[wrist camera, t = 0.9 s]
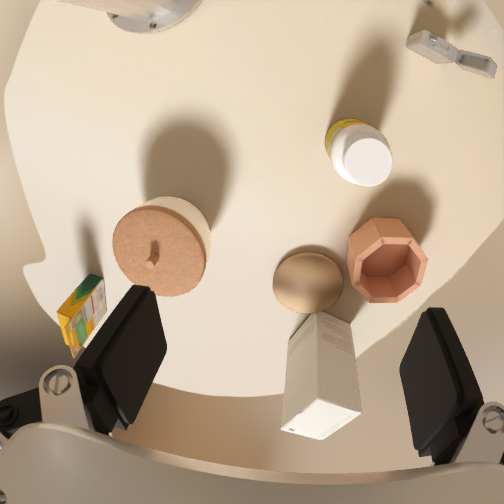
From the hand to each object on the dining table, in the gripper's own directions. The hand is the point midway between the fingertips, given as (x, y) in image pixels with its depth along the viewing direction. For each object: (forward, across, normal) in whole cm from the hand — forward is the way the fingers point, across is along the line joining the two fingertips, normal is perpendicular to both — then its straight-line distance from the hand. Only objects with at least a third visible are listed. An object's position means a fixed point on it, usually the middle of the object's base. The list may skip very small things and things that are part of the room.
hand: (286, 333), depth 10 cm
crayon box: (+26, +30, +21) cm, 45 cm away
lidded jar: (+26, +14, +8) cm, 30 cm away
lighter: (+26, -15, -14) cm, 33 cm away
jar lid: (+26, -2, +15) cm, 30 cm away
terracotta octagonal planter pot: (+26, -11, +10) cm, 30 cm away
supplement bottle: (+26, -5, -3) cm, 27 cm away
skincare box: (+27, -5, +24) cm, 36 cm away
